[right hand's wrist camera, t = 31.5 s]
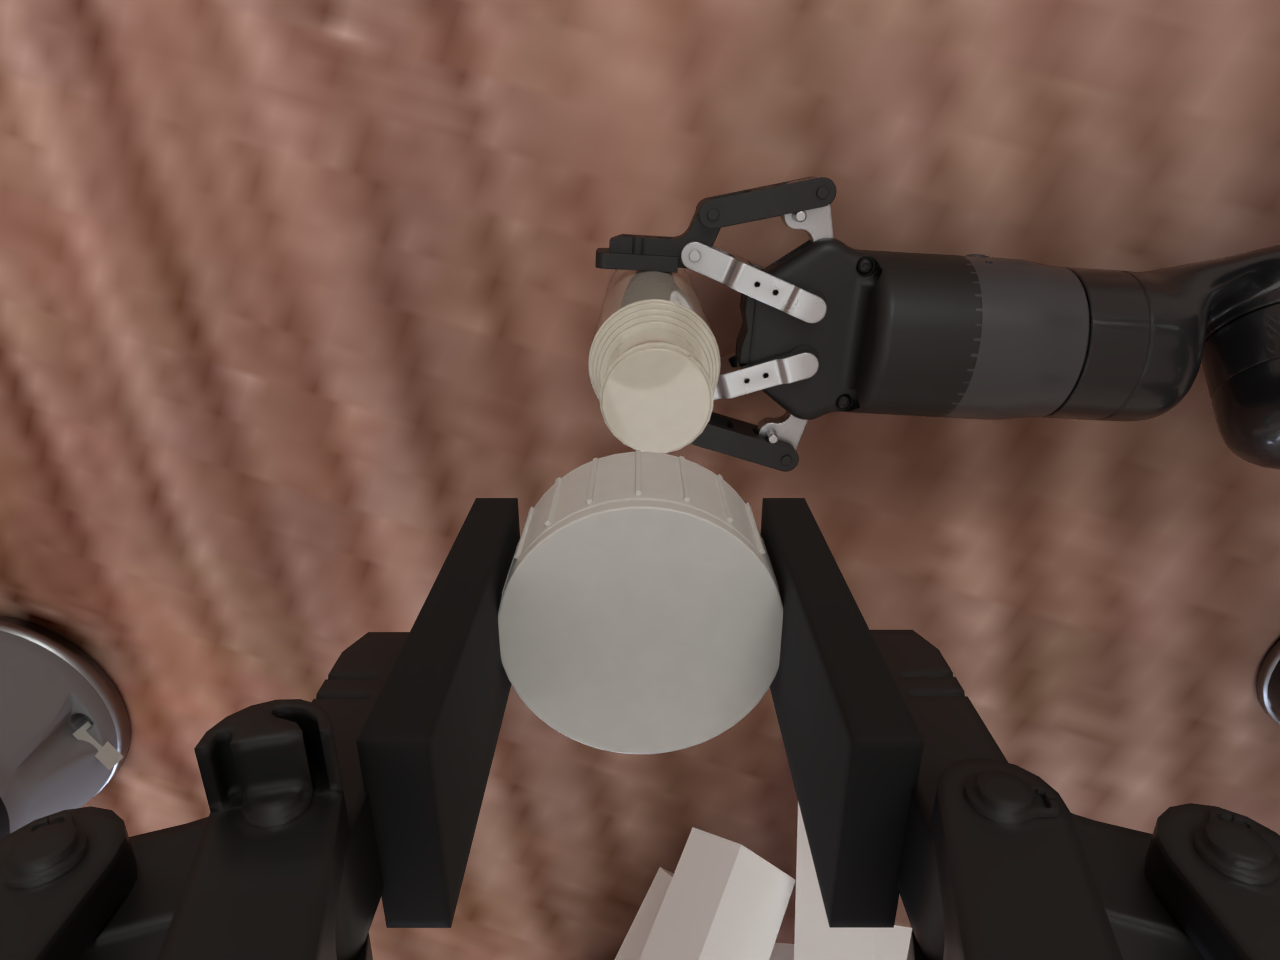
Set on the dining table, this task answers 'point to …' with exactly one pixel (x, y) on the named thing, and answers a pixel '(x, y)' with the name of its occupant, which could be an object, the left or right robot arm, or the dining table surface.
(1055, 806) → the right robot arm
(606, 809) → the dining table surface
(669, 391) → the bottle
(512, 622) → the cap
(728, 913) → the pile of blocks
